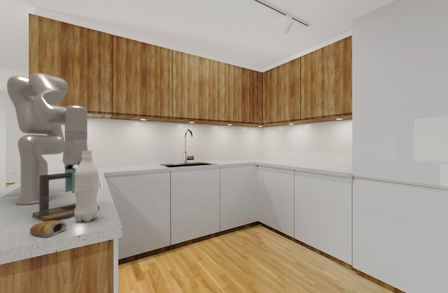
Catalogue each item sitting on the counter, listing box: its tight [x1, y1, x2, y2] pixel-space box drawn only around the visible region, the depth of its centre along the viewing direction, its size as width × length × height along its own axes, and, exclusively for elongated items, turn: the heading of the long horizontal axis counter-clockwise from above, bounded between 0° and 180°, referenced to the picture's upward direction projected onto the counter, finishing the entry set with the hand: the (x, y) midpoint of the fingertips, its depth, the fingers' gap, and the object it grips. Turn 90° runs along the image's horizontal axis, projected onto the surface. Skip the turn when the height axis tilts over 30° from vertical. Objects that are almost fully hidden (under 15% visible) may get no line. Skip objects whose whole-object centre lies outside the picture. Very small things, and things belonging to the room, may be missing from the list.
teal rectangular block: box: [64, 167, 77, 194], centre depth 84 cm, size 6×5×9 cm
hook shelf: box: [31, 172, 100, 222], centre depth 82 cm, size 13×17×16 cm
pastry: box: [29, 220, 67, 238], centre depth 64 cm, size 9×7×4 cm
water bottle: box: [73, 150, 99, 223], centre depth 75 cm, size 7×7×25 cm
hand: (76, 178), depth 84 cm, fingers open, 9 cm apart
